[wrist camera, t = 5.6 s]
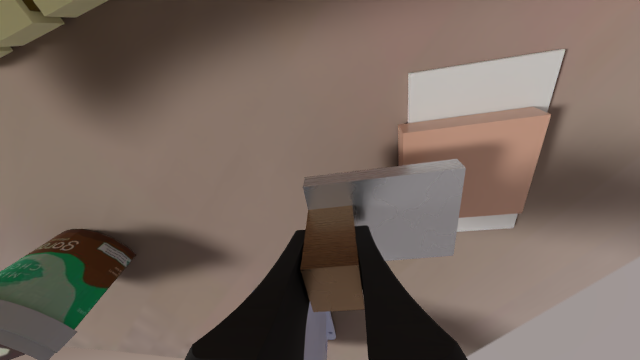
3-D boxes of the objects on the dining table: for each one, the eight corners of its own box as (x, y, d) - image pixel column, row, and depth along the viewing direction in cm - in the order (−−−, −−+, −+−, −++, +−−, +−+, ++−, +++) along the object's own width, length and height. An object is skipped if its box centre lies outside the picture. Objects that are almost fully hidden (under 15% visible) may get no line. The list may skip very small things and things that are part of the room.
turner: (322, 253, 17) (318, 329, 13) (304, 177, 14) (292, 243, 10) (446, 243, 16) (488, 322, 12) (457, 158, 13) (518, 222, 9)
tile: (398, 208, 20) (508, 198, 19) (403, 222, 19) (522, 212, 18) (397, 123, 17) (531, 106, 16) (403, 133, 15) (551, 114, 14)
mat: (511, 225, 21) (513, 227, 20) (406, 232, 22) (407, 235, 22) (561, 48, 14) (565, 49, 14) (408, 73, 15) (409, 73, 15)
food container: (101, 205, 23) (-43, 310, 14) (147, 251, 26) (50, 362, 17) (16, 236, 26) (-144, 337, 17) (65, 274, 29) (-52, 378, 20)
